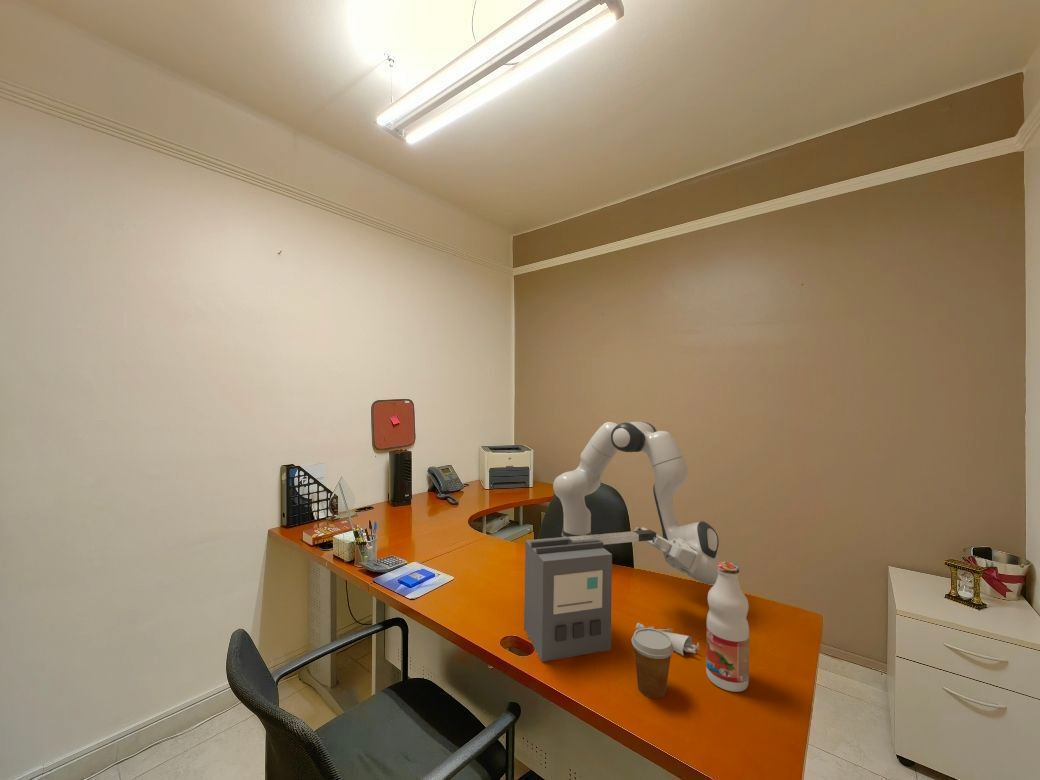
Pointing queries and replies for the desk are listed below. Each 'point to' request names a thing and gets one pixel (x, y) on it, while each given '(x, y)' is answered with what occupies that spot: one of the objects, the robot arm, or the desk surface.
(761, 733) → the desk surface
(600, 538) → the bar
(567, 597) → the grey grooved block
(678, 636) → the woman figurine
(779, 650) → the desk surface
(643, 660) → the disposable coffee cup
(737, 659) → the fruit juice
